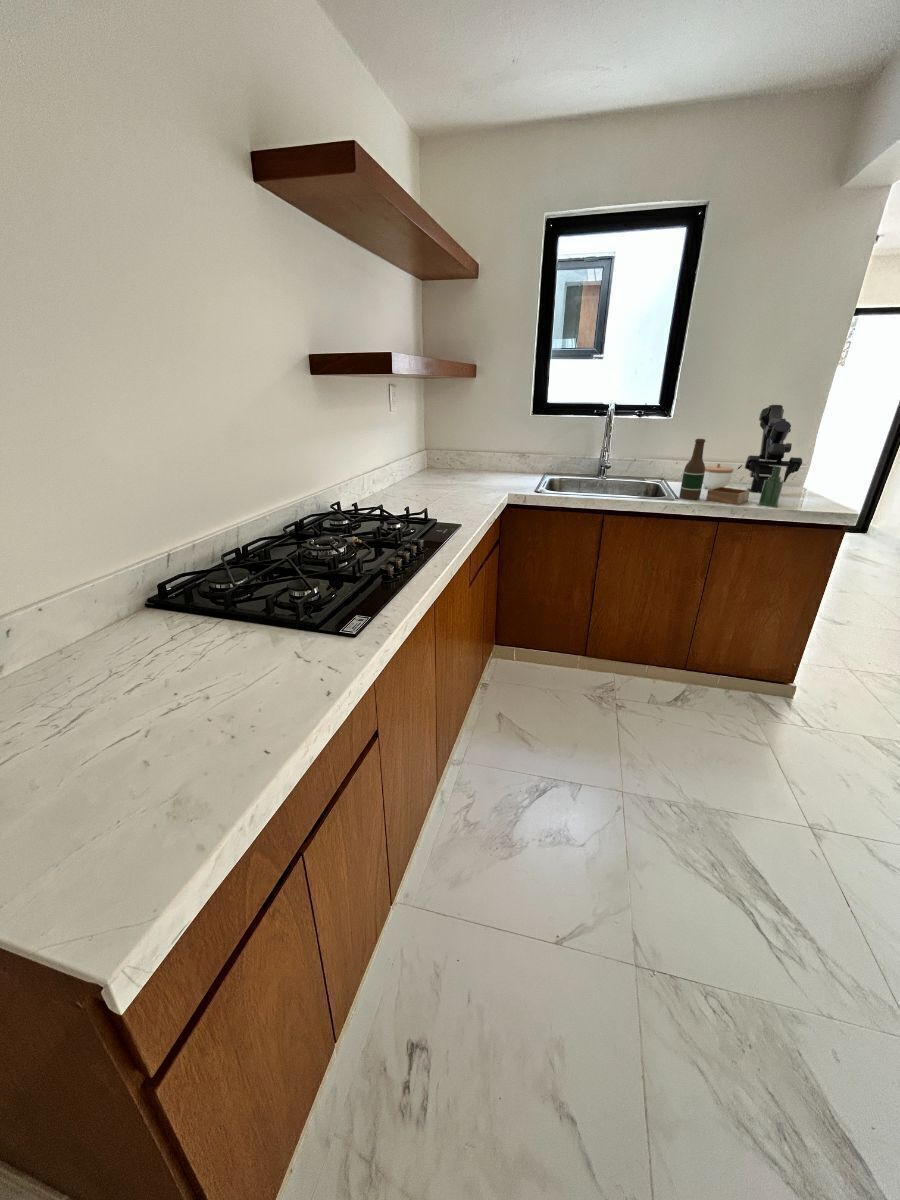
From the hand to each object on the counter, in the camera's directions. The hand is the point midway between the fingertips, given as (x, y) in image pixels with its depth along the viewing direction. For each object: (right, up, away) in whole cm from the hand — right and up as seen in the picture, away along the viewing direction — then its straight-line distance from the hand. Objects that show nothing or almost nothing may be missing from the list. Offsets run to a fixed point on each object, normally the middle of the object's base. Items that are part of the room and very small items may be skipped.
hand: (771, 480), depth 197 cm
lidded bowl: (-5, +5, +34) cm, 34 cm away
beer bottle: (-28, -5, +10) cm, 30 cm away
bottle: (-2, -10, -1) cm, 11 cm away
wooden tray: (-14, -7, +6) cm, 17 cm away
